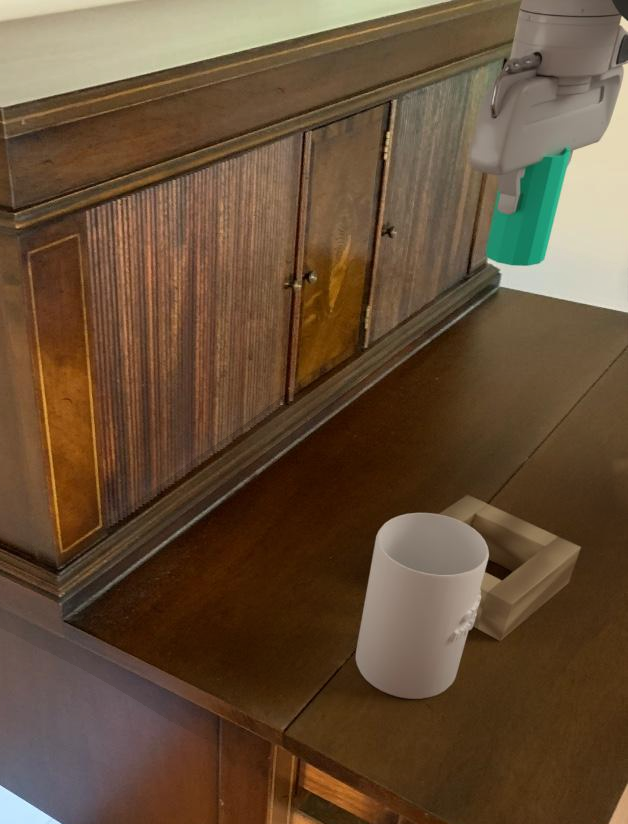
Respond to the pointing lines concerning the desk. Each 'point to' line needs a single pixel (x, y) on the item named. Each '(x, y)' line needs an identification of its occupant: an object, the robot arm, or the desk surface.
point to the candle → (529, 215)
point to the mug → (420, 603)
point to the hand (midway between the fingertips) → (526, 204)
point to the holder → (515, 565)
